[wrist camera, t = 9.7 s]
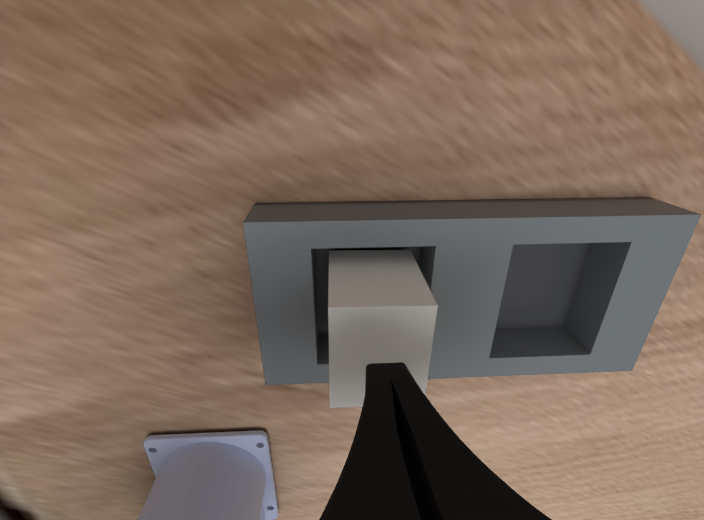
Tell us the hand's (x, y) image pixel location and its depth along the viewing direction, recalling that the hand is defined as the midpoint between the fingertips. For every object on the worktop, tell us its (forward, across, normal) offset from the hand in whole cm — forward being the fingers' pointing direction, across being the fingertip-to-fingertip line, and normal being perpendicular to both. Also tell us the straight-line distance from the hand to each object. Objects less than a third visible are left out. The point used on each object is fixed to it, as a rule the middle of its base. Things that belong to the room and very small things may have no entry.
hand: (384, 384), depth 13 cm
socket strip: (+8, -5, 0) cm, 9 cm away
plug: (+7, 0, 0) cm, 7 cm away
